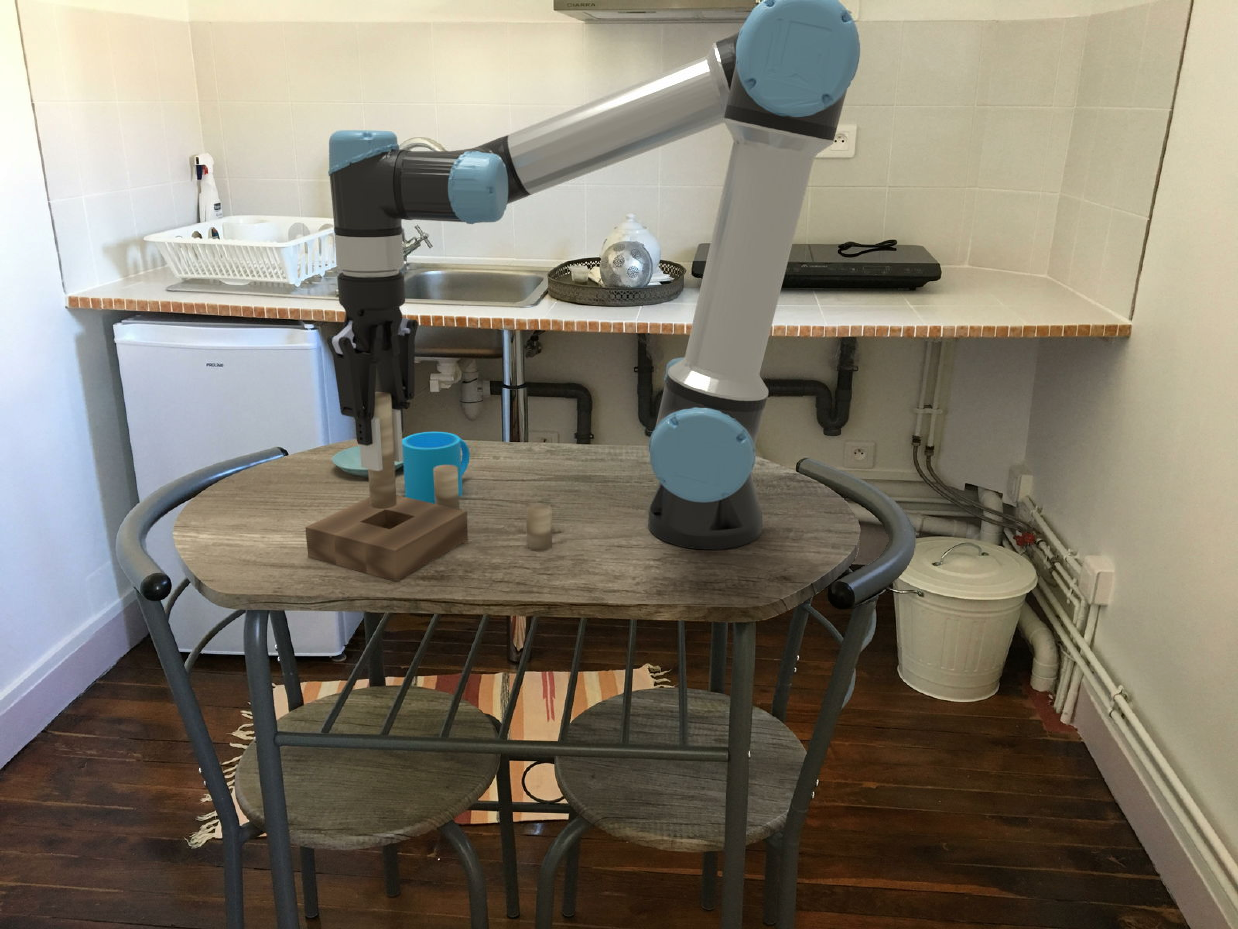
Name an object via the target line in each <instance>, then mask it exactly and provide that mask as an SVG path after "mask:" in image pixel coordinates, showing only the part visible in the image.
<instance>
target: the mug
mask: <svg viewBox="0 0 1238 929" xmlns="http://www.w3.org/2000/svg"><path fill="white" fill-rule="evenodd" d="M402 446H403V465H402V466H403V478H404V480H403V481H404V497H407V498H411V499H416V500H420V501H424V502H429V503H433V504H435V490H434V472H433V469H434V468H435V467H436V466H439V465H454V466H456V467H457V468H458V489H459V498H461V497H462V495H463V476H464V474H465V472H466V470H467V469H468V466H469V463H470V458H471V454H470V448H469V446H468V445H467V442H466V441H465V440H464V439H462V438H461V437H460V436H458V435H457V434H455V433H450V432H446V431H445V432H444V431H423V432H418V433H414V434H411V435H408V436H406V437H404V438H402ZM461 453H462V454H461Z"/></svg>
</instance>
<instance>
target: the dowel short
mask: <svg viewBox="0 0 1238 929" xmlns="http://www.w3.org/2000/svg"><path fill="white" fill-rule="evenodd" d="M552 512H553V511H552V507H550V506H549V505H545V504H535V505H530V506H528V507H527V508H526V509H525V515H526V517H525V518H526V519H525V521H526V524H525V525H526V548H527V549H528V550H530V551H534V552H544V551H549V550H550V549H551V548H552V547H553V532H552V531H553V529H552V528H553V524H552V523H553V522H552V518H553V516H552V515H553V514H552Z"/></svg>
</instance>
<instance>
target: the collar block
mask: <svg viewBox="0 0 1238 929" xmlns="http://www.w3.org/2000/svg"><path fill="white" fill-rule="evenodd" d="M396 501H397V504H396V505H395V506H393V507H391V508H385V509H378V508H373V507H371V505H370V496H369V497H368V498H365V499H362V500H361V501H359V502H356V503H355V504H352V505H349V506H348V507H345V508H343V509H341V510H339V511H337V512H335V513H333V514H330V515H328V516H327V517H323V519H319V520H317V521H315V522H314V523H311V524H309V525H307V526H305V527H304V529H305V538H306V539H305V540H306V546H307V547H306V549H307V550H306V551H307V557H308V558H309V559H310V558H311V559H315V560H317V561H321V562H324V563H329V564H331V565H336V566H340V567H343V568H347V569H351V570H354V571H358V572H361V573H365V574H367V575H372V576H375V577H379V578H383V579H387V580H389V581H394V582H399V581H400V580H402V579H404V578H406V577H408V576H409V575H411V574H412V573H414V572H416V571H418V570H420V569H421V568H423V567H424V566H426V565H427V564H429V563H431V562H433V561H435V560H436V559H438V558H440V557H441V556H444V555H445V554H446V553H449V552H450V551H451V550H453V549H455V548H457V547H458V546H460V545H461V544H463V543H465V542H466V541H468V540H469V535H468V532H469V531H468V512H467V511H468V510H463V509H460V508H459V509H455V508H451V507H446V506H442V505H438V504H433V503H429V502H424V501H420V500H416V499H411V498H407V497H406V496H402V495H399V494H396Z"/></svg>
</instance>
